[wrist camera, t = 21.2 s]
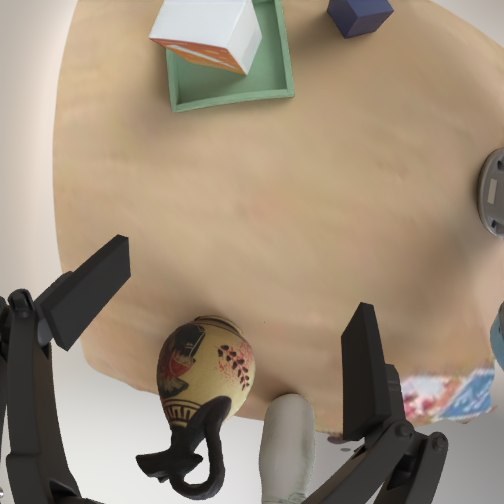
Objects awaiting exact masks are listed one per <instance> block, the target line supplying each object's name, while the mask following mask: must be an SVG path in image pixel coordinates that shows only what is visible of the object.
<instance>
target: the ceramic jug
mask: <svg viewBox="0 0 504 504" xmlns="http://www.w3.org/2000/svg"><path fill="white" fill-rule="evenodd" d="M264 323H265V322H264ZM255 368H256V367H255V360H254V354H253V352H252V349H251V347H250V345H249V344H248V342H247V341H246V340H245V339H244V338H243V333H242V331H241V330H240V329H239V328H238V327H237V326H236V325H235V324H234V323H232V322H231V321H228V320H226V319H223V318H221V317H218V316H202V317H197V318H196V319H195V320H194V322H190V323H188V324H185V325H183V326H181V327H179V328H178V329H176V330H175V331H174V332H173V333H172V334H171V335H170V336H169V337H168V338H167V340H166V341H165V343H164V345H163V347H162V349H161V351H160V355H159V360H158V365H157V385H158V391H159V396H160V400H161V403H162V407H163V410H164V413H165V416H166V418H167V420H168V423H169V425H170V430H172V436H171V446H170V448H169V449H168V450H165V451H162V452H158V453H152V454H144V455H137V456H136V461H137V463H138V465H139V467H140V468H141V469H142V471H143V472H144V473H145V474H146V475H147V476H148V477H156V478H158V480H159V482H160V483H163V482H164V481H166V480H168V479H169V480H170V483H171V485H172V488H173V489H174V490H175V491H176V492H178V493H179V494H181V495H182V496H184V497H187V498H189V499H192V500H206V499H208V498H211V497H213V496H214V495H215V494H217V493H218V492H219V490H220V488H221V487H222V485H223V482H224V477H225V467H224V463H223V454H222V447H221V440H220V436H219V432H220V427H221V425H223V424H224V423H225V422H226V421H227V420H228V419H229V418H231V417H232V416H233V415H234V414H235V413H236V412H237V411H238V410H239V409H240V407H241V406H242V404H243V403H244V402H245V400H246V398H247V396H248V394H249V392H250V390H251V387H252V384H253V382H254V377H255ZM204 438H206V442H207V447H208V456H209V462H210V474H209V477H208V479H207V481H205V482H203V483H202V484H188V483H186V482H185V481H184V477H185V475H186V474H187V473H189V472H190V471H192V470H193V469H194V468H195V467H196V466H197V465H198V464H199V463H200V462H202V460H203V457H202V456H201V455H199V454H195V453H194V451H195V449H196V447H197V446H198V445H199V443H200V442H201V441H202V440H203V439H204Z"/></svg>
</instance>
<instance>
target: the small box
mask: <svg viewBox="0 0 504 504" xmlns="http://www.w3.org/2000/svg"><path fill="white" fill-rule="evenodd" d="M148 38H149V39H151V40H153V41H155V42H157V43H158V44H160V45H162V46H163V47H165V48H167V49H169V50H170V51H172V52H173V53H175V54H177V55H178V56H180V57H182V58H183V59H185V60H186V61H188V62H189V63H191V64H197V65H203V66H209V67H214V68H219V69H223V70H227V71H231V72H235V73H239V74H243V75H248V72H249V70H250V67H251V64H252V62H253V59H254V57H255V54H256V52H257V49H258V47H259V44H260V42H261V40H262V34H261V30H260V27H259V24H258V21H257V17H256V14H255V11H254V8H253V5H252V1H251V0H165V1H164V3H163V5H162V7H161V9H160V11H159V13H158V16H157V18H156V20H155V23H154V25H153V27H152V30H151V32H150V35H149V37H148Z"/></svg>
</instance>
